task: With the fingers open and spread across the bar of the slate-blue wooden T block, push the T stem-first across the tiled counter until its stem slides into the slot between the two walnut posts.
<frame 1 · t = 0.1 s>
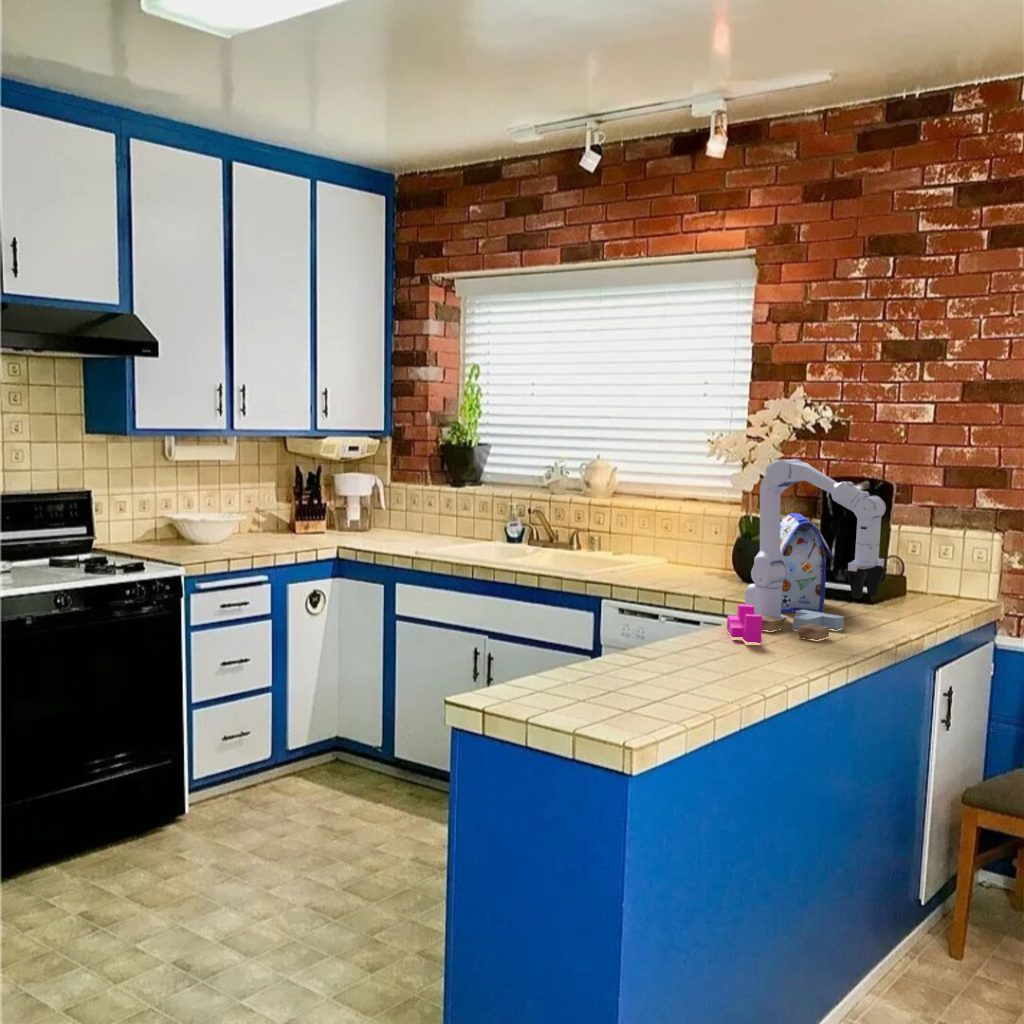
hand: (864, 596, 265), 10 cm above the worktop, tool pointing down, fingers open, 7 cm apart
lunch bag: (795, 607, 303), on the worktop
walnut slot: (790, 634, 265), on the worktop
toy block: (743, 640, 258), on the worktop
T block: (818, 626, 275), on the worktop
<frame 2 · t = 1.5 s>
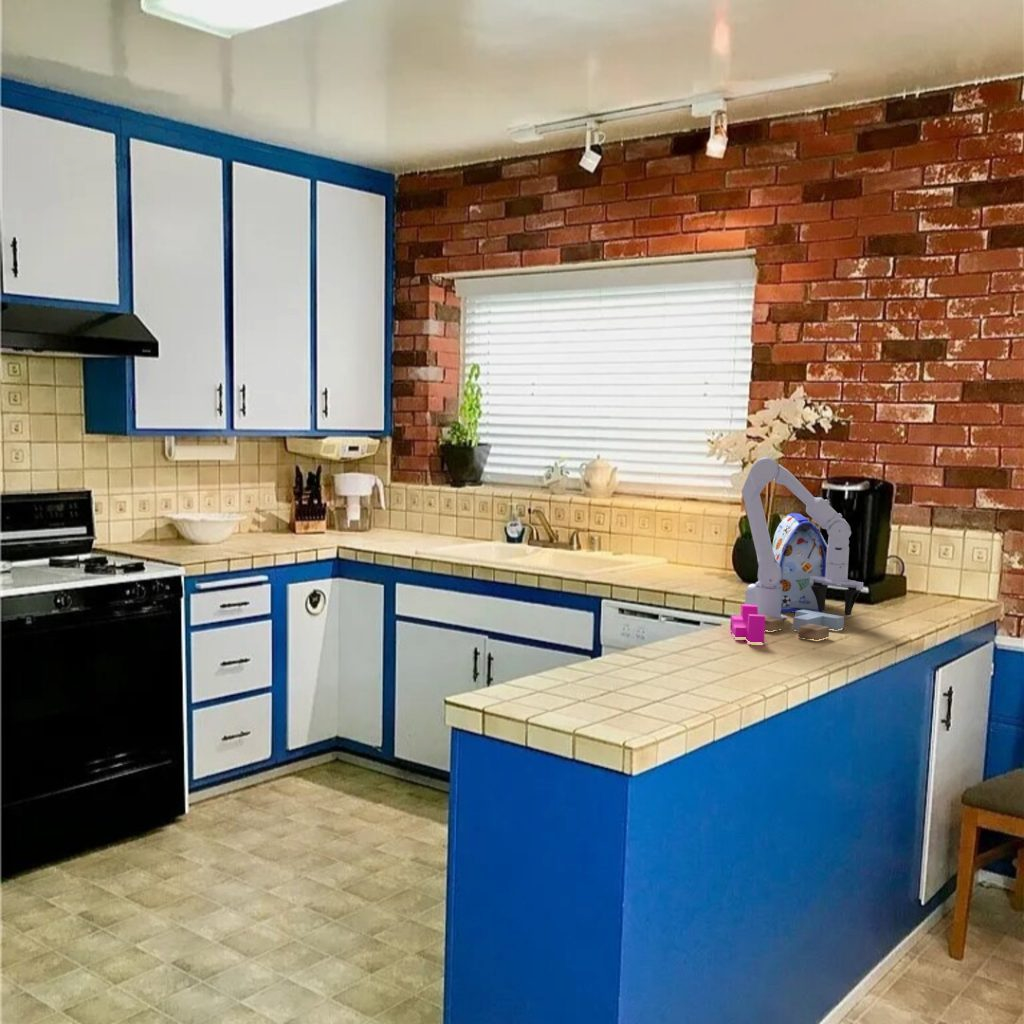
hand: (834, 612, 280), 3 cm above the worktop, tool pointing down, fingers open, 7 cm apart
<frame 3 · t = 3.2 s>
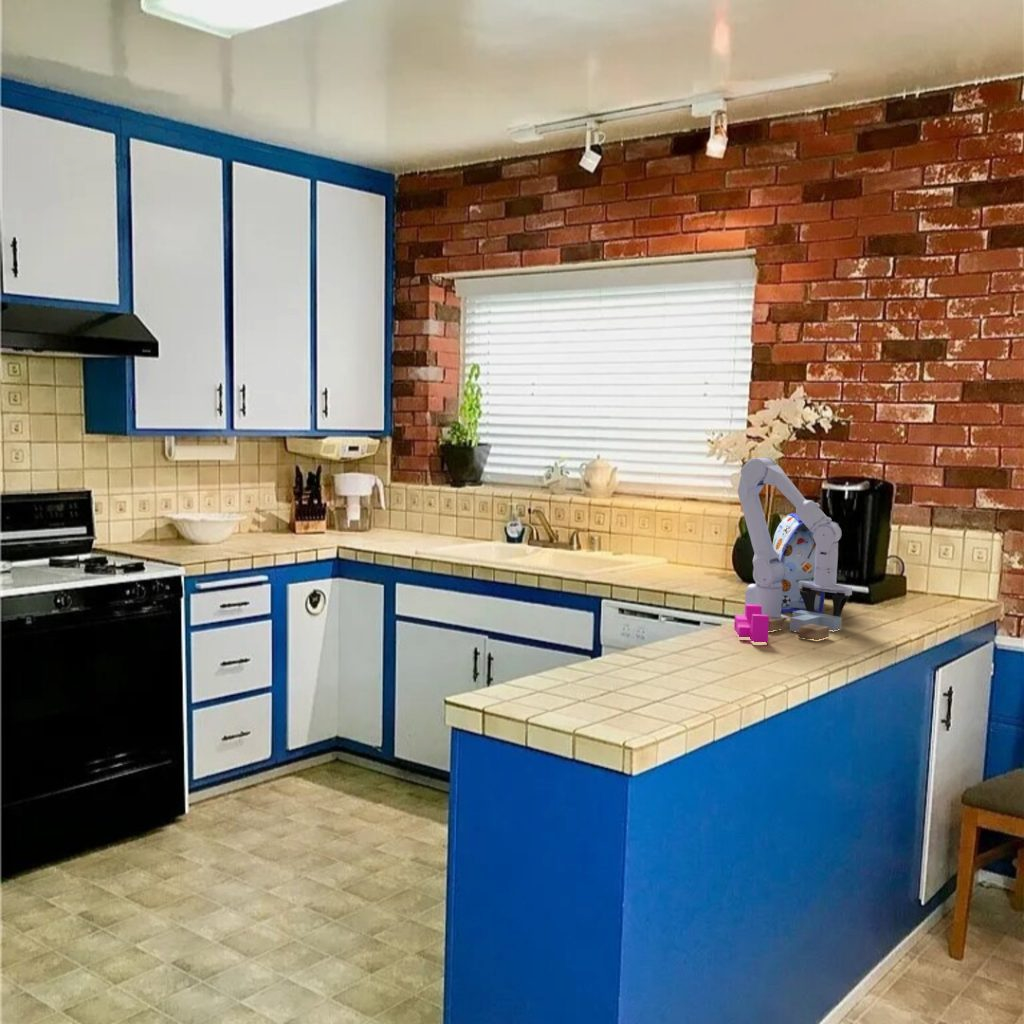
hand: (823, 618, 276), 2 cm above the worktop, tool pointing down
toy block: (750, 640, 259), on the worktop
T block: (816, 627, 274), on the worktop, touching gripper
everything else where it was.
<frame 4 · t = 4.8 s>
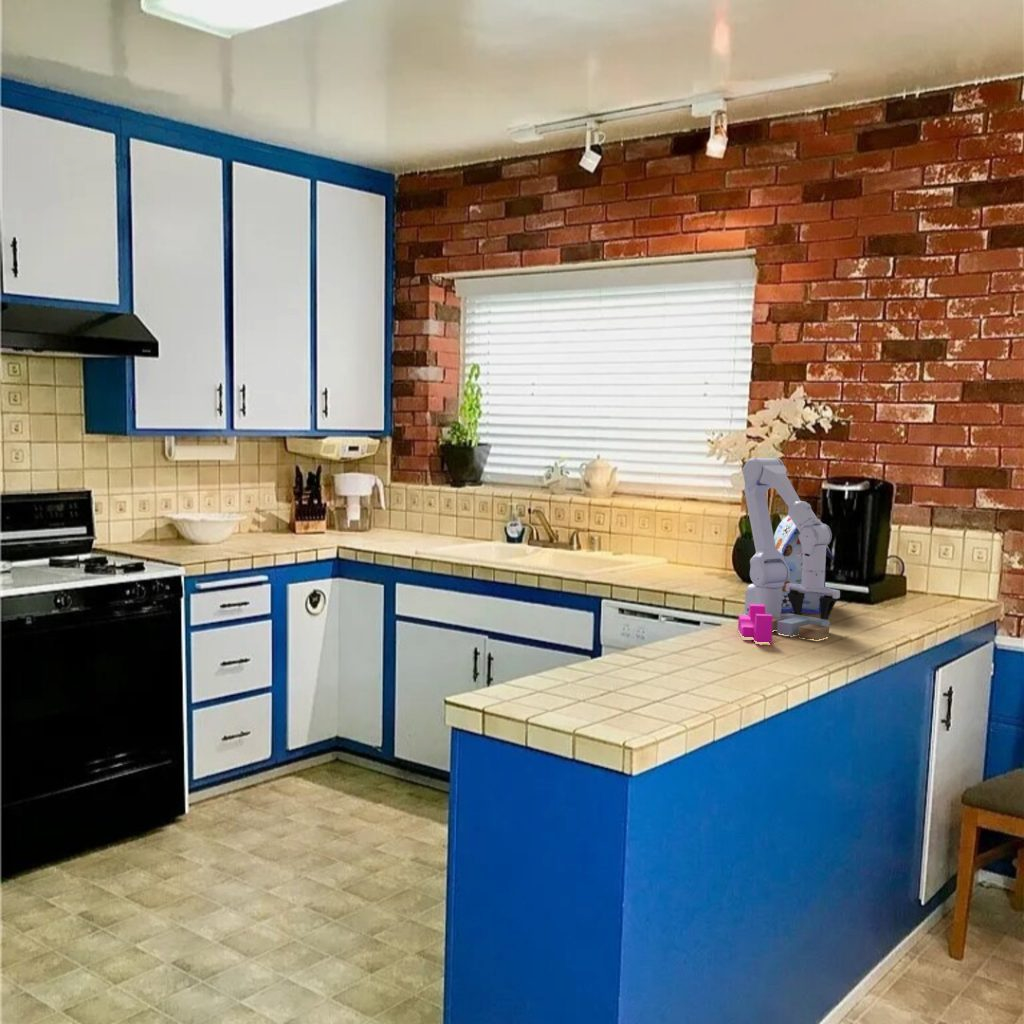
hand: (810, 621, 272), 2 cm above the worktop, tool pointing down
toy block: (753, 639, 259), on the worktop
T block: (804, 630, 269), on the worktop, touching gripper
everything else where it was.
when the fingers open (2 cm above the worktop, at t = 4.8 s): T block stays where it is, on the worktop.
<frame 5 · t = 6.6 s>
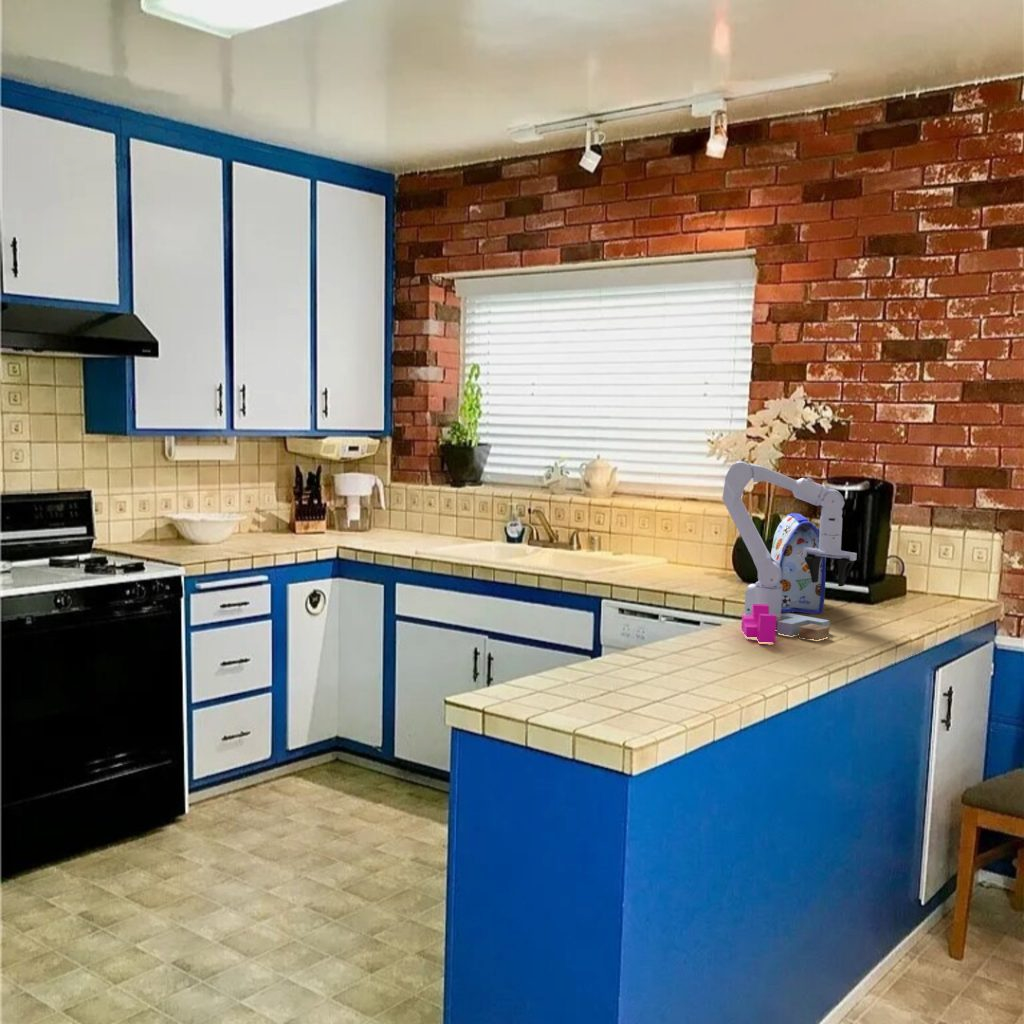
hand: (827, 584, 280), 10 cm above the worktop, tool pointing down, fingers open, 7 cm apart
T block: (803, 630, 269), on the worktop
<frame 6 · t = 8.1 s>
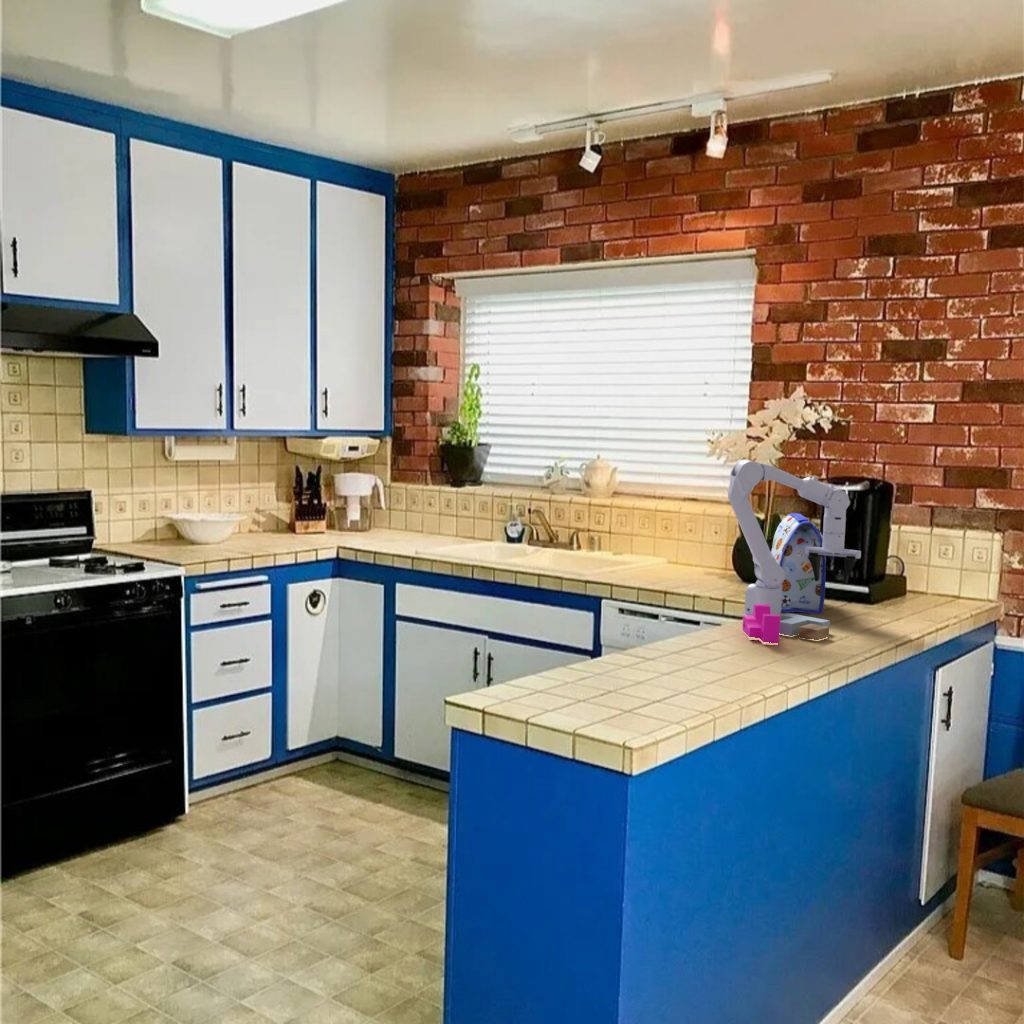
hand: (831, 582, 284), 10 cm above the worktop, tool pointing down, fingers open, 7 cm apart
at the end: T block 0.1 cm from the target spot, on the worktop; T block tilted 0° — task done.
